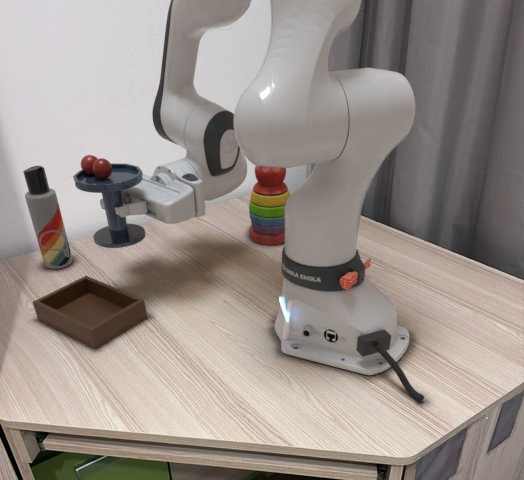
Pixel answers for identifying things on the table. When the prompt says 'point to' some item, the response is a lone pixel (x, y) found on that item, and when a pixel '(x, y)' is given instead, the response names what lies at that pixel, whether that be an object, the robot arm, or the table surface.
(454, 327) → the table surface
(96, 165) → the ball
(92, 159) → the ball
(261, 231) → the stacking bear
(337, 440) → the table surface
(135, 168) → the footed dish
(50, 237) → the lotion bottle
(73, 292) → the walnut tray
